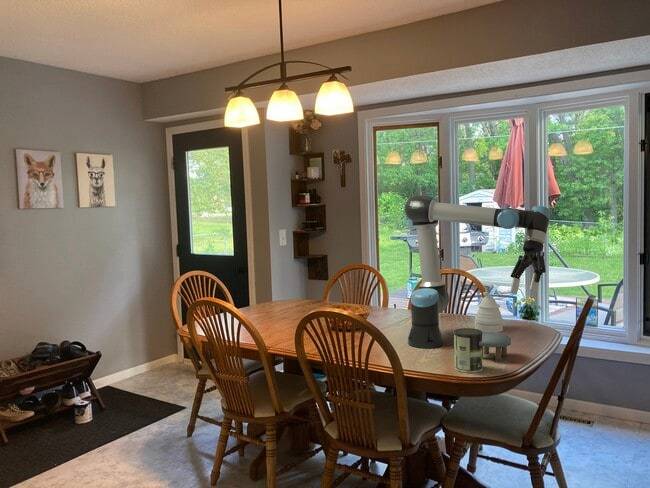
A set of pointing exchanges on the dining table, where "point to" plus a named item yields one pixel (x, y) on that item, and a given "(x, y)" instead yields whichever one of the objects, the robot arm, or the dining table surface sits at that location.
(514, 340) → the dining table surface
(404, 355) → the dining table surface
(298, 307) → the dining table surface
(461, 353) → the coffee can
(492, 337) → the stool
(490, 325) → the white tapered piece
